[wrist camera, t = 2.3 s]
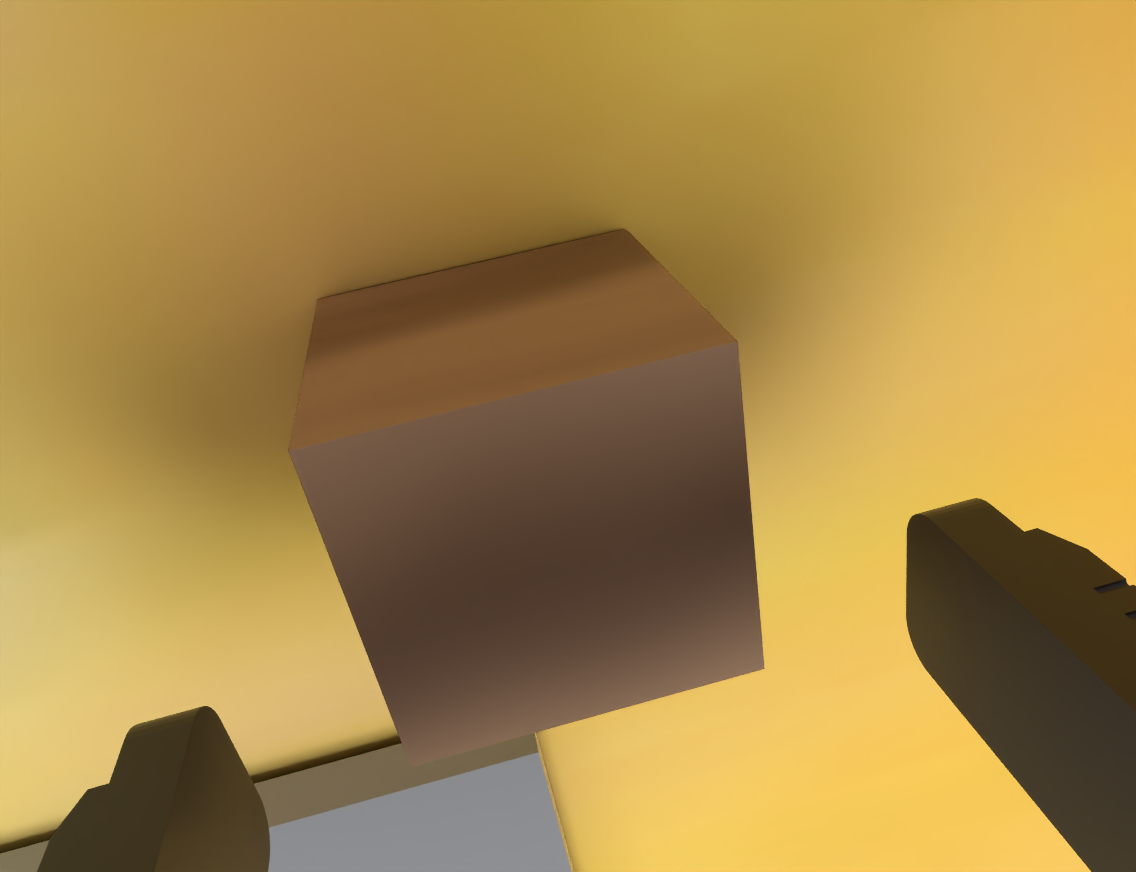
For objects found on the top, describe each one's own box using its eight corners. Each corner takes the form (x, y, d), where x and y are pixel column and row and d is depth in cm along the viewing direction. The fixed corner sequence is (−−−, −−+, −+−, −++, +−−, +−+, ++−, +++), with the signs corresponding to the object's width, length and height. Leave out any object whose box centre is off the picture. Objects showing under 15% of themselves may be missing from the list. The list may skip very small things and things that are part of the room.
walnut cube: (317, 299, 14) (288, 450, 9) (625, 229, 14) (737, 341, 10) (401, 552, 16) (411, 767, 12) (662, 485, 16) (764, 669, 12)
